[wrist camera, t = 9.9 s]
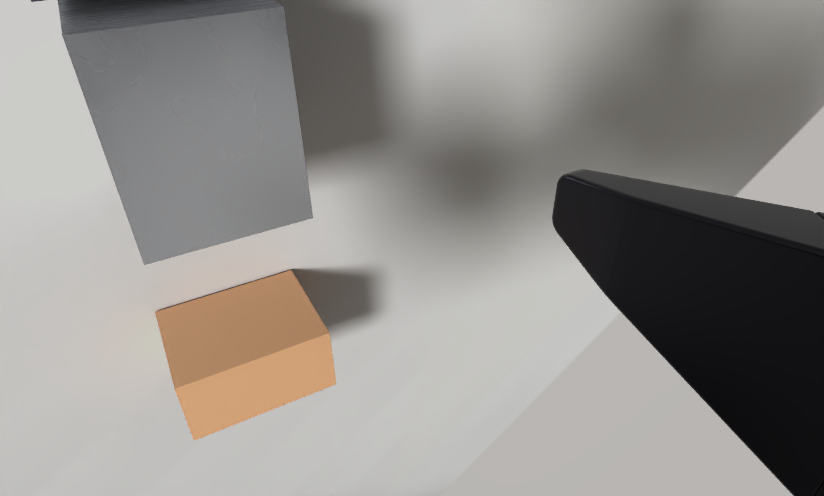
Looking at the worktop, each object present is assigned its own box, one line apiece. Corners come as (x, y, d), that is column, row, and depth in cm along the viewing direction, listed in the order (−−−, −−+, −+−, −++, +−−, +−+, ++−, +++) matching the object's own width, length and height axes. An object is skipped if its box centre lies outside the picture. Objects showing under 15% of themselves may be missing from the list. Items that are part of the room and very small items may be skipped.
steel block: (249, 132, 19) (312, 217, 14) (117, 160, 17) (144, 264, 13) (216, -37, 16) (283, 6, 12) (55, -21, 14) (62, 35, 10)
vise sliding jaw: (299, 318, 24) (336, 384, 21) (173, 361, 22) (193, 440, 19) (291, 270, 22) (329, 333, 19) (155, 311, 20) (174, 388, 17)
